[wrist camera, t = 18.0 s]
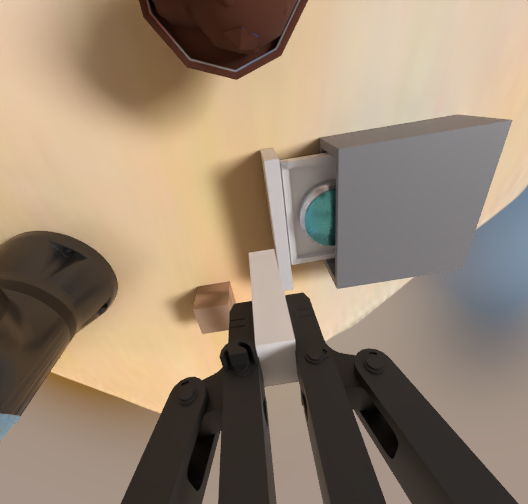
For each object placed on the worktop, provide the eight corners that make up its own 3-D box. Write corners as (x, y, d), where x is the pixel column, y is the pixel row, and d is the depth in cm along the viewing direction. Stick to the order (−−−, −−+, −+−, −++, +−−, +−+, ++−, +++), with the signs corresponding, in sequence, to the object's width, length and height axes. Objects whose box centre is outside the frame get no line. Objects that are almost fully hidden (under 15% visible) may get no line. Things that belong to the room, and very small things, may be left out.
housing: (322, 258, 39) (337, 288, 33) (319, 137, 30) (338, 149, 24) (428, 241, 38) (462, 269, 32) (457, 114, 29) (512, 120, 23)
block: (206, 309, 42) (202, 333, 38) (197, 286, 40) (192, 309, 35) (236, 305, 42) (235, 328, 38) (229, 281, 40) (228, 304, 35)
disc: (298, 241, 35) (302, 251, 32) (296, 183, 31) (301, 190, 28) (356, 234, 35) (364, 244, 32) (363, 175, 31) (373, 182, 28)
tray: (276, 265, 38) (281, 291, 33) (260, 149, 30) (263, 161, 25) (382, 248, 38) (403, 271, 33) (397, 126, 29) (429, 133, 24)
